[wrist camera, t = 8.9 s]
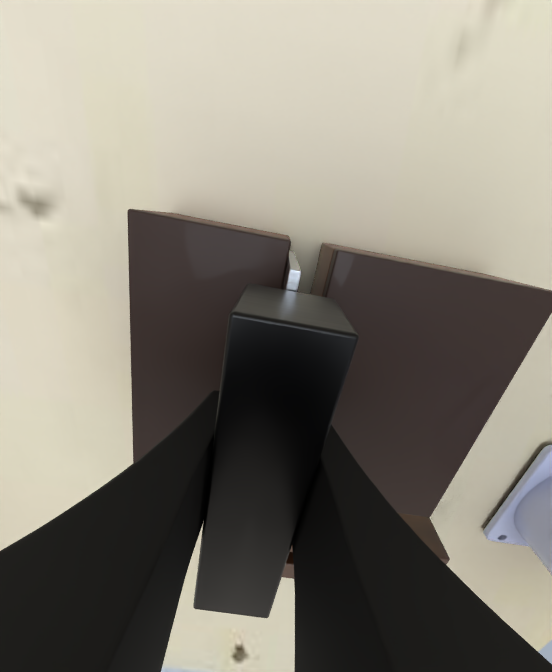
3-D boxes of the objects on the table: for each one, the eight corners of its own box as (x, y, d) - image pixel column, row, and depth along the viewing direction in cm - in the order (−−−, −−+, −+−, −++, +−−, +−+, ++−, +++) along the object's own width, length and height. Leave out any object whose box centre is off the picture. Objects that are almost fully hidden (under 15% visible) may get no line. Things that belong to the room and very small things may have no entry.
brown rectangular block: (289, 235, 12) (291, 240, 8) (251, 435, 16) (242, 490, 13) (171, 212, 11) (126, 208, 8) (164, 422, 16) (132, 474, 12)
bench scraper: (274, 440, 15) (265, 628, 8) (234, 433, 15) (191, 619, 8) (316, 254, 11) (371, 306, 4) (264, 244, 11) (232, 280, 4)
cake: (488, 274, 12) (564, 293, 9) (400, 459, 16) (429, 518, 13) (322, 242, 12) (337, 249, 8) (276, 439, 16) (274, 495, 13)
